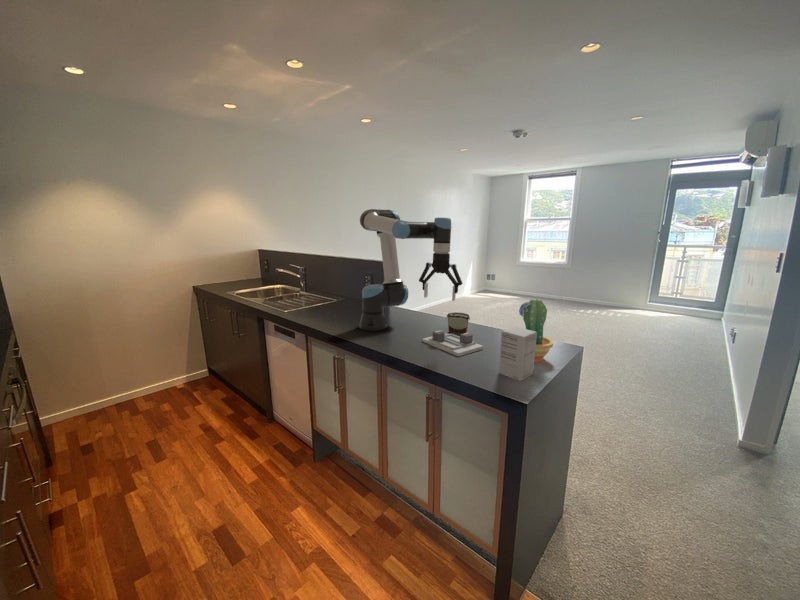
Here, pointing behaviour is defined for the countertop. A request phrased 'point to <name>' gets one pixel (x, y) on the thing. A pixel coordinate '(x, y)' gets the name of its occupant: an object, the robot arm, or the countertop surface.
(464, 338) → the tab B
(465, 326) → the food container
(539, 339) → the potted cactus
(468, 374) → the countertop surface
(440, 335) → the tab
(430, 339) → the switch board
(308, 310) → the countertop surface
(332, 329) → the countertop surface
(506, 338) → the supplement box
